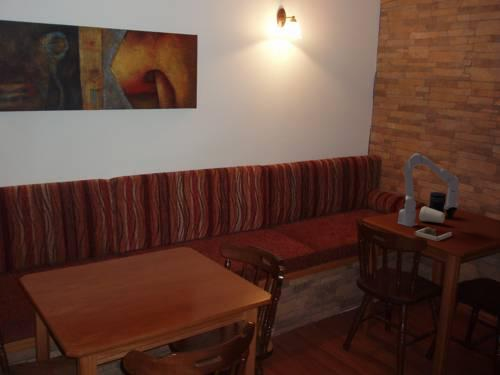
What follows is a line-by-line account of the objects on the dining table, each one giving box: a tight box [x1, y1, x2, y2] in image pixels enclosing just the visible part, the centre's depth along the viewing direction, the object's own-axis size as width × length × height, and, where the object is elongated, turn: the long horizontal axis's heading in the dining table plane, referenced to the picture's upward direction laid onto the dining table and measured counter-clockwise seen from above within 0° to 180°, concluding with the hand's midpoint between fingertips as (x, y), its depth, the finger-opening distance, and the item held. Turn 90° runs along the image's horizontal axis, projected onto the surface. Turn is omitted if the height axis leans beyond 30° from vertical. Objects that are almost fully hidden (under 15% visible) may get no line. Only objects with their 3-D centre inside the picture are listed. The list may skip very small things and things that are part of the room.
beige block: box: [424, 226, 437, 237], centre depth 292 cm, size 4×4×4 cm
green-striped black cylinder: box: [428, 191, 447, 214], centre depth 336 cm, size 10×10×15 cm
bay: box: [413, 226, 453, 242], centre depth 294 cm, size 14×16×2 cm
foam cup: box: [418, 205, 446, 224], centre depth 319 cm, size 10×9×13 cm
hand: (449, 219), depth 306 cm, fingers closed
